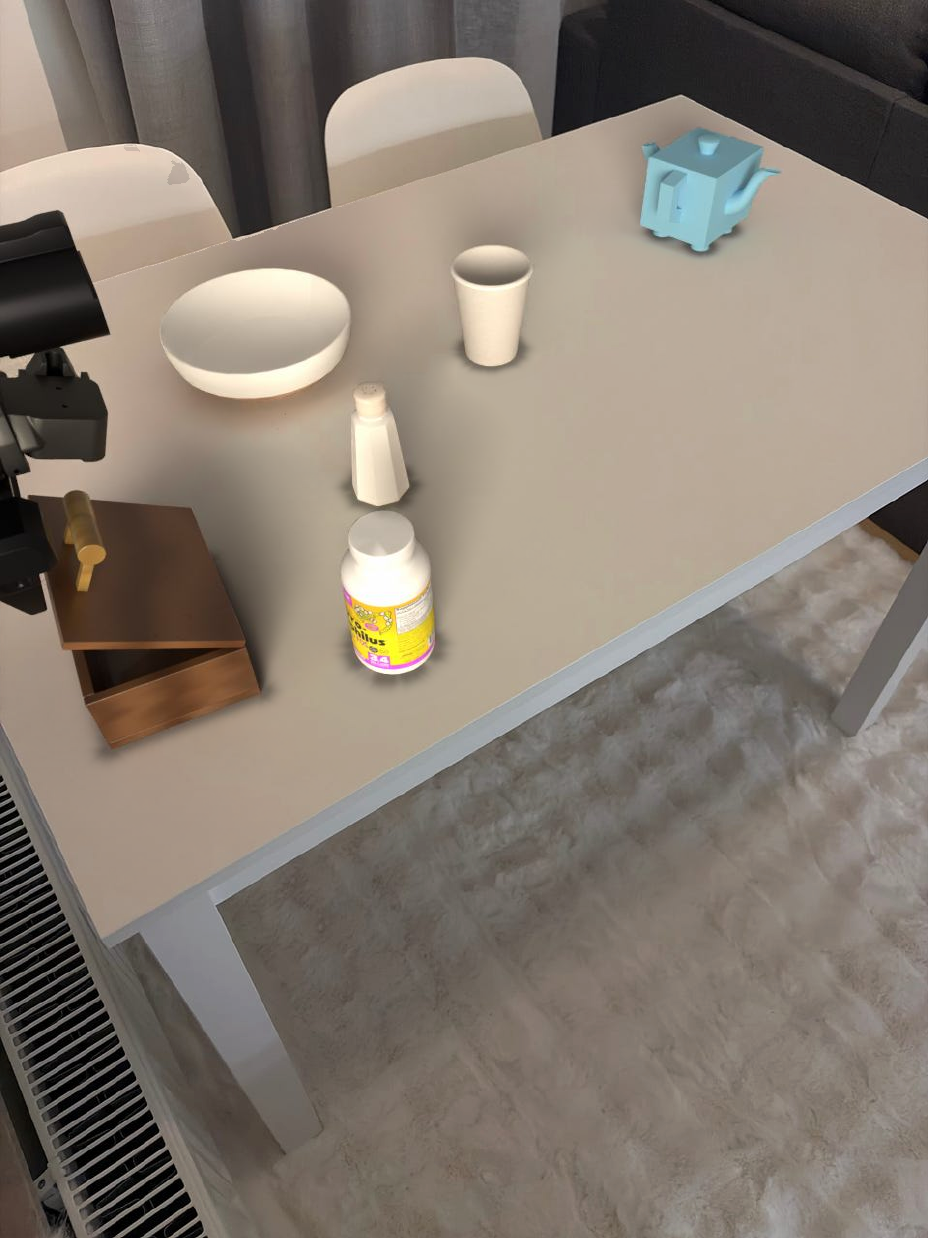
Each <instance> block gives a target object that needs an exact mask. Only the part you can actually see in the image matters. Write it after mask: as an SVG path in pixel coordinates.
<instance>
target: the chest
mask: <svg viewBox="0 0 928 1238" xmlns="http://www.w3.org/2000/svg"><path fill="white" fill-rule="evenodd" d="M71 653H72V657H73V661H74V665H75V669H76V673H77V678H78V682H79V686H80V690H81V693H82V694H81V695H82V697H83V702H84V705H85V707H86V709H87V711H88V713H89V714H90V716H91V717H92V719H93V722H95V724H96V726H97V727H98V729H99V731H100V733H101V734H102V736H103V737H104V739H105V740H106V743H107V744H108V746H109V748H110V750H113V749H116V748H119V747H122V746H125V745H127V744H129V743H133V742H135V741H138V740H140V739H143V738H146V737H148V736H151V735H154V734H156V733H160V732H162V731H164V730H167V729H170V728H172V727H175V726H178V725H179V724H182V723H186V722H188V721H190V720H194V719H196V718H199V717H201V716H204V715H206V714H209V713H212V712H215V711H217V710H220V709H222V708H225V707H228V706H230V705H234V704H236V703H238V702H242V701H244V700H247V699H249V698H252V697H254V696H257V695H261V693H262V691H261V689H260V686H259V682H258V680H257V677H256V674H255V671H254V668H253V665H252V662H251V659H250V655H249V653H248V649H247V647H246V643H245V644H244V647H231V648H162V649H92V650H71Z"/></svg>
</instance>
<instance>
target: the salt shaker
mask: <svg viewBox="0 0 928 1238" xmlns="http://www.w3.org/2000/svg"><path fill="white" fill-rule="evenodd" d="M386 395H387V390H386V388H385V387H384V386H383V384H381V383H379V382H377V381H376V382H375V381H366V382H365V381H364V382H362V383H360V384H358V385H357V386H356V387H355V388H354V389H353V391H352V397H353V399H354V406H355V410H353V412H352V413H351V414H350V441H351V442H350V443H351V444H350V446H351V447H350V448H351V449H350V450H351V486H352V488H353V491H354V494H355V496H356V498H357V500H358V501H359V502H363V503H366V504H370V505H371V506H376V507H381V506H386V505H389V504H392V503H393V504H394V503H397V502H399V501H400V500H401V499H402V497H403V496H404V495H405V494H406V492H407V491H408V489H409V488H410V482H409V477H408V473H407V468H406V465H405V460H404V455H403V450H402V446H401V443H400V438H399V434H398V429H397V424H396V421H395V417H394V414H393V412H392V410H391V408H390V406H389V405H387V398H386Z"/></svg>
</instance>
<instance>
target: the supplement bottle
mask: <svg viewBox="0 0 928 1238" xmlns="http://www.w3.org/2000/svg"><path fill="white" fill-rule="evenodd" d="M347 542H348V548H347V550H346V552H344V555H343V557H342V559H341V563H340V567H339V568H340V569H339V571H340V572H339V573H340V579H341V586H342V590H343V595H344V596H343V597H344V603H345V608H346V613H347V619H348V625H349V631H350V636H351V641H352V645H353V649H354V650H353V651H354V653H355V655H356V656H357V658H358V659H359V661H360V662H361V663H362V664H363V665H364V666H365V667H367V668H368V669H370V670H372V671H373V672H376V673H380V674H386V675H400V674H406V673H408V672H411V671H413V670H415V669H417V668H419V667H420V666H422V665H423V664H424V663H425V662H426V661H427V660H428V659H429V658H430V656H431V654H432V652H433V651H434V648H435V644H436V625H435V611H434V595H433V586H432V585H433V584H432V583H433V582H432V581H433V580H432V567H431V560H430V557H429V553H428V552H427V550H426V549H425V547H424V546H423V545H422V544H421V543H420V542H419V541H418V540H416V535H415V528H414V526H413V523H412V522H411V521H410V520H409V518H407V517H406V516H405V515H403V514H401V513H400V512H396V511H393V510H376V511H371V512H367V513H365V514H363V515H361V516H360V517H358V518H357V519H355V521H354V522H353V523H352V524H351V526H350V527H349V529H348V533H347Z"/></svg>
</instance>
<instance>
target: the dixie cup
mask: <svg viewBox="0 0 928 1238" xmlns="http://www.w3.org/2000/svg"><path fill="white" fill-rule="evenodd" d="M449 270H450V273H451V276H452V277H453V283H454V289H455V295H456V302H457V308H458V313H459V321H460V327H461V333H462V339H463V346H464V352H465V355H466V357H467V358H468V359H469V360H470V362H472V363H474V364H477V365H480V366H485V367H496V366H497V367H498V366H502V365H506V364H508V363H510V362H511V361H513V360H514V359H515V358H516V356H517V354H518V350H519V344H520V339H521V331H522V325H523V319H524V314H525V308H526V302H527V297H528V291H529V286H530V285H529V284H530V280H531V276H532V275H533V272H534V262H533V261H532V259H531V258H530V257H529V255H527V254H526V253H525V252H523V251H522V250H520V249H519V248H515V247H513V246H509V245H503V244H481V245H477V246H472V247H470V248H469V247H468V248H467V249H465V250H463V251H461V252H460V253H458V254H457V255H456V256H455V257H454V258H453V259H452V260H451V263H450V267H449Z"/></svg>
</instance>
